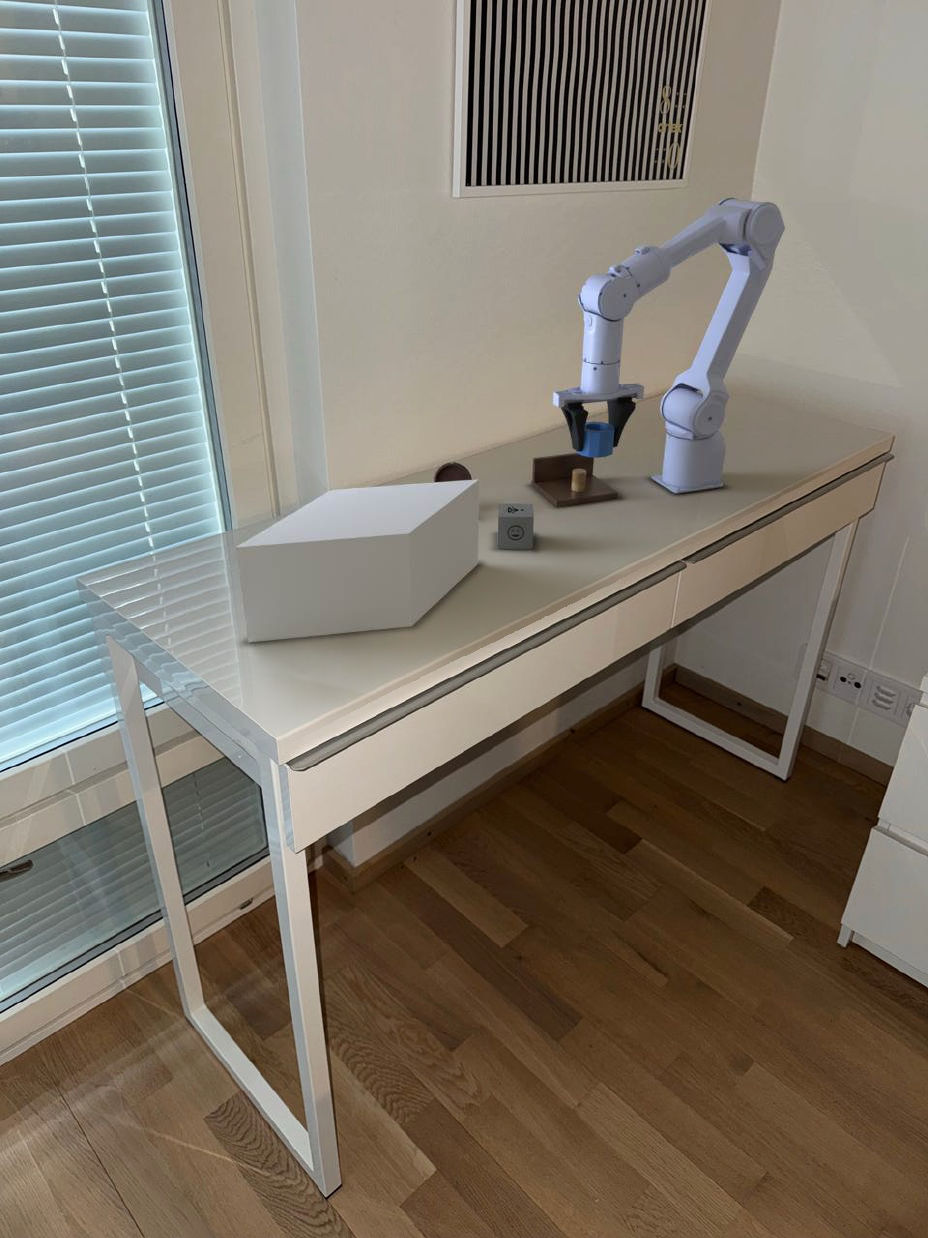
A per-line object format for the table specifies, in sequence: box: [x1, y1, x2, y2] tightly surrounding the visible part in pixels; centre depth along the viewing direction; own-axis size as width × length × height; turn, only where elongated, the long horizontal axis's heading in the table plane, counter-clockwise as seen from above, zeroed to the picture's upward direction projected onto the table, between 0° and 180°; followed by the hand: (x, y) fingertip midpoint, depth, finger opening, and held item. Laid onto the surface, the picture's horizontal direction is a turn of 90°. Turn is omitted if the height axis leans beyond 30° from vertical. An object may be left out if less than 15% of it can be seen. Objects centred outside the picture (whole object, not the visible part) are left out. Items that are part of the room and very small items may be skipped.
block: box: [235, 479, 480, 643], centre depth 114 cm, size 18×35×12 cm, turn 128°
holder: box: [530, 452, 619, 508], centre depth 149 cm, size 11×10×5 cm
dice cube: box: [497, 502, 535, 550], centre depth 132 cm, size 5×5×5 cm
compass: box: [433, 461, 473, 483], centre depth 140 cm, size 8×8×7 cm
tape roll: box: [575, 421, 615, 459], centre depth 142 cm, size 6×6×4 cm
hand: (595, 447), depth 143 cm, fingers closed on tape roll, 5 cm apart
